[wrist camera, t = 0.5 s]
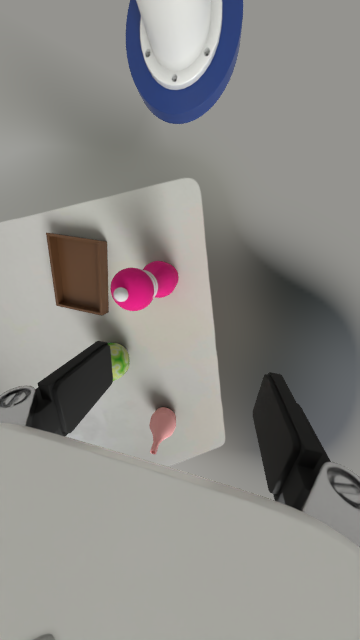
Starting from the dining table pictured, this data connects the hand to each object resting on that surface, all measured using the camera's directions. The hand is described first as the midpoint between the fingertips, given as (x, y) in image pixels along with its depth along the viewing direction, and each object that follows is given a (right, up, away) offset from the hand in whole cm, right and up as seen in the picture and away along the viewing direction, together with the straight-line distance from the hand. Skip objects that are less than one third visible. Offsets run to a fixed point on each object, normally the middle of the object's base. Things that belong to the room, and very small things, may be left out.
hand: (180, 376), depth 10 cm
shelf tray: (-24, +15, +33) cm, 43 cm away
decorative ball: (-17, -6, +39) cm, 43 cm away
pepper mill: (-3, +13, +29) cm, 32 cm away
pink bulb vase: (-4, -25, +43) cm, 50 cm away
